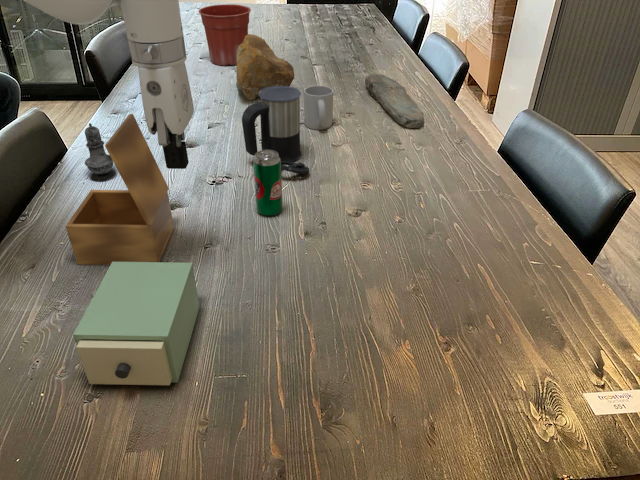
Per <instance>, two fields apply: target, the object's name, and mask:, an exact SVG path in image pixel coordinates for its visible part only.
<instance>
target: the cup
mask: <svg viewBox="0 0 640 480" xmlns="http://www.w3.org/2000/svg"><path fill="white" fill-rule="evenodd" d="M303 102H304V103H303V105H304V106H303V110H304V111H303V112H304V115H303V118H304V119H303V120H304V126H305V127H306V128H307V129H310V130H313V131H324V130H328V129H329V128H331V127H332V125H333V119H334V115H333V113H334V90H333V88H331V87H330V86H326V85H312V86H308V87H306V88H304V89H303Z"/></svg>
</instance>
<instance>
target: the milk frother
mask: <svg viewBox="0 0 640 480" xmlns="http://www.w3.org/2000/svg"><path fill="white" fill-rule="evenodd" d="M301 95H302V92H301V90H300V89H298V88H296V87H292V86H289V87H288V86H273V87H268V88H265V89H262V90H261V91H260V92H259V96H260V97H259V96H258V97H259V98H260V101H258V102H254V103H251V104H250V105H248V106H247V107H246V108H245V110H244V111H243V113H242V116H241V125H242V131H243V140H244V146H245V152H247V154H249V155H251V156H255V154H256V153H257V152H258V151H259V150H258V140H257V131H256V120H257V118H258V117H260V135H261V136H260V137H261V138H260V139H261V140H260V141H261V142H260V144H261V145H260V146H261V150H274V151H276V152H277V153H278V154H279V157H280V158H281V170H283V171H286V172H290V173H294V174H297V175H299V176H303V175H304V174H308V173H310V168H309V166H308V165H305V163H304V162H301V161H299V162H295V161H297V160H299V159H300V158H301V157H302V155H303V153H302V150H301V130H300V129H301V105H300V104H301V102H300V101H301Z"/></svg>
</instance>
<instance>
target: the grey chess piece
mask: <svg viewBox="0 0 640 480" xmlns="http://www.w3.org/2000/svg"><path fill="white" fill-rule="evenodd" d="M84 135H85V140H86V144H85V147H86V148H87V149H88V152H89V157H88V158H86V159H85V160H84V165H85V166H86V167H87V169H88V171H90V172H91V174H89V175H90V176H89V179H90V180H91V181H93V182H100V183H101V182H107V181H110V180H112V179H114V178H115V177H116V176H117V172H116V171H115V170H114V169H113V167H114V162H113V160H112V158H111V156H110V155H109V154H107V153H106V151H105V142H104V141H103V140H102V136H101V132H100V129H99V128H98V127H96V126H94V125H93V124H92V123H91V122H89V123H88V127H86V128H85V129H84Z"/></svg>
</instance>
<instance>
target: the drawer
mask: <svg viewBox="0 0 640 480" xmlns="http://www.w3.org/2000/svg"><path fill="white" fill-rule="evenodd" d="M75 348H76V350H77V353H78V356H79V359H80V362H81V364H82V367H83V370H84V373H85V376H86V378H87V381H88V384H90V385H120V386H121V385H122V386H123V385H127V386H129V385H131V386H170V385H171V383H172V382H171V380H172V376H171V371H170V367H169V363H168V358H167V354H166V349H165V345H164V342H163V341H161V340H101V339H92V340H80V341H79V343H78V345H77V344H76V346H75Z"/></svg>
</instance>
